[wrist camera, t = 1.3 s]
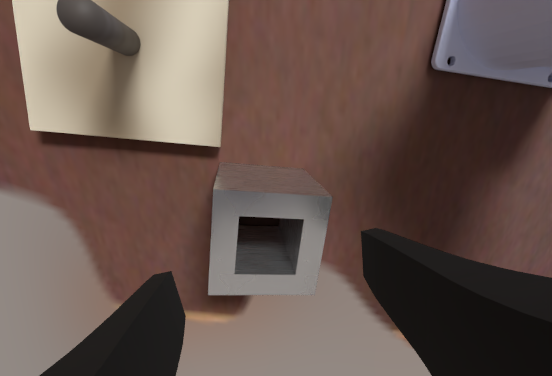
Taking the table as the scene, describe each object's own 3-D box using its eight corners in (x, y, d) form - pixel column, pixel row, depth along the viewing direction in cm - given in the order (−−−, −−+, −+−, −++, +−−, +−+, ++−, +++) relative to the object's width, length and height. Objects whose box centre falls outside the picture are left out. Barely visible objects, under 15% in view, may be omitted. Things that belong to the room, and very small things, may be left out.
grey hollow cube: (303, 168, 17) (332, 196, 12) (292, 242, 18) (314, 294, 13) (219, 162, 16) (213, 189, 11) (215, 239, 17) (207, 295, 12)
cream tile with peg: (231, -45, 13) (229, -130, 8) (220, 144, 15) (214, 163, 11) (13, -91, 11) (-145, -228, 7) (41, 128, 14) (-58, 141, 9)
